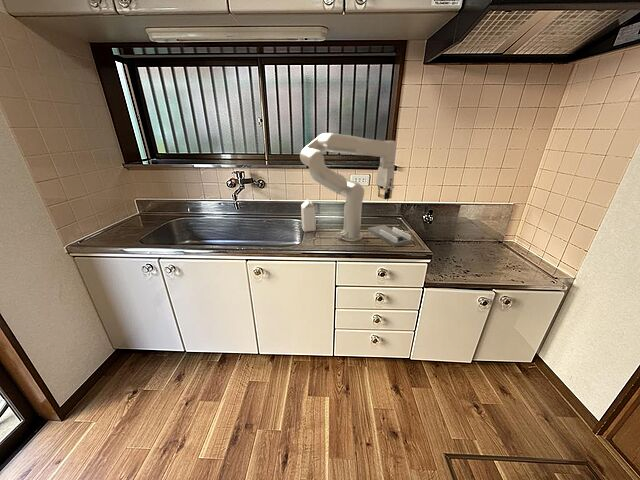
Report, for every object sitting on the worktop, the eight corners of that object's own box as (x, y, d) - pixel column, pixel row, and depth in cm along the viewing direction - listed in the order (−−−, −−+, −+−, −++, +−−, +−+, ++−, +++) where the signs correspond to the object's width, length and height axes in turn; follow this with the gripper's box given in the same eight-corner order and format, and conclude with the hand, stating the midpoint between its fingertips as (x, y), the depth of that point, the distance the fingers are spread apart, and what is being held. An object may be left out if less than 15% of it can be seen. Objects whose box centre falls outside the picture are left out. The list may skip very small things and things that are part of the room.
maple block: (384, 199, 143) (385, 190, 141) (379, 197, 147) (379, 188, 145) (391, 198, 145) (392, 189, 143) (386, 196, 149) (387, 187, 147)
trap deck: (393, 246, 135) (394, 239, 133) (367, 230, 156) (368, 224, 154) (411, 243, 140) (412, 235, 138) (383, 227, 161) (384, 221, 159)
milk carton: (304, 232, 155) (303, 201, 147) (301, 228, 161) (300, 198, 154) (315, 230, 157) (315, 200, 149) (312, 226, 163) (312, 197, 156)
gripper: (372, 163, 144) (369, 195, 152) (391, 167, 130) (387, 202, 137) (382, 162, 147) (380, 193, 154) (402, 166, 133) (398, 200, 140)
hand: (383, 197), depth 146 cm, fingers closed on maple block, 5 cm apart
